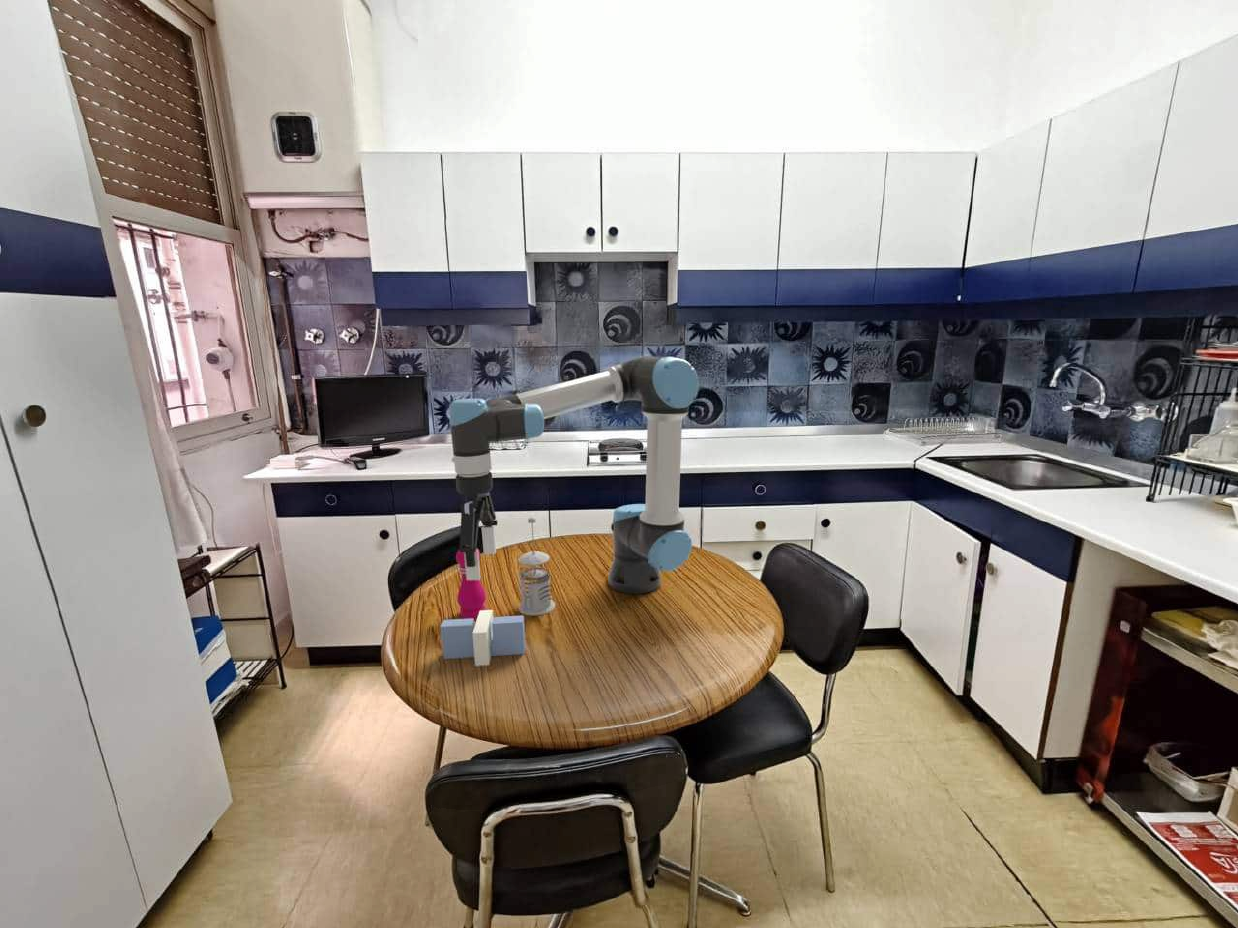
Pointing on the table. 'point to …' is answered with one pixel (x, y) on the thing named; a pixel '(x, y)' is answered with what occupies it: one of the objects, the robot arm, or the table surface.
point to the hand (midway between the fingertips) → (482, 565)
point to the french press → (535, 583)
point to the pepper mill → (469, 592)
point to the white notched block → (483, 637)
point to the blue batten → (503, 642)
